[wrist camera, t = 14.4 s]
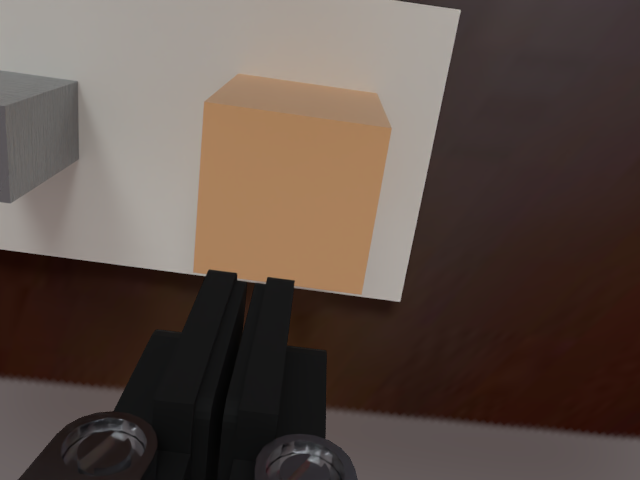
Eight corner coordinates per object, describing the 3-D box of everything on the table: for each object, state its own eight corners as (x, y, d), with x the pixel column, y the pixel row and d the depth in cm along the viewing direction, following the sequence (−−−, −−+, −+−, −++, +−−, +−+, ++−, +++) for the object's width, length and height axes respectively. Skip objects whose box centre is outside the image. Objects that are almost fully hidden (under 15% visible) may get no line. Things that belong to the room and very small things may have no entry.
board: (-91, -71, 26) (-115, -75, 25) (454, 9, 27) (460, 10, 26) (-59, 228, 32) (-77, 239, 30) (397, 288, 32) (400, 301, 31)
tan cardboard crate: (238, 73, 27) (203, 101, 20) (377, 93, 27) (392, 128, 20) (227, 205, 29) (193, 272, 22) (355, 222, 29) (361, 295, 22)
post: (13, 66, 28) (-101, 91, 21) (90, 76, 29) (4, 106, 21) (17, 141, 30) (-88, 190, 22) (90, 151, 30) (10, 203, 23)
